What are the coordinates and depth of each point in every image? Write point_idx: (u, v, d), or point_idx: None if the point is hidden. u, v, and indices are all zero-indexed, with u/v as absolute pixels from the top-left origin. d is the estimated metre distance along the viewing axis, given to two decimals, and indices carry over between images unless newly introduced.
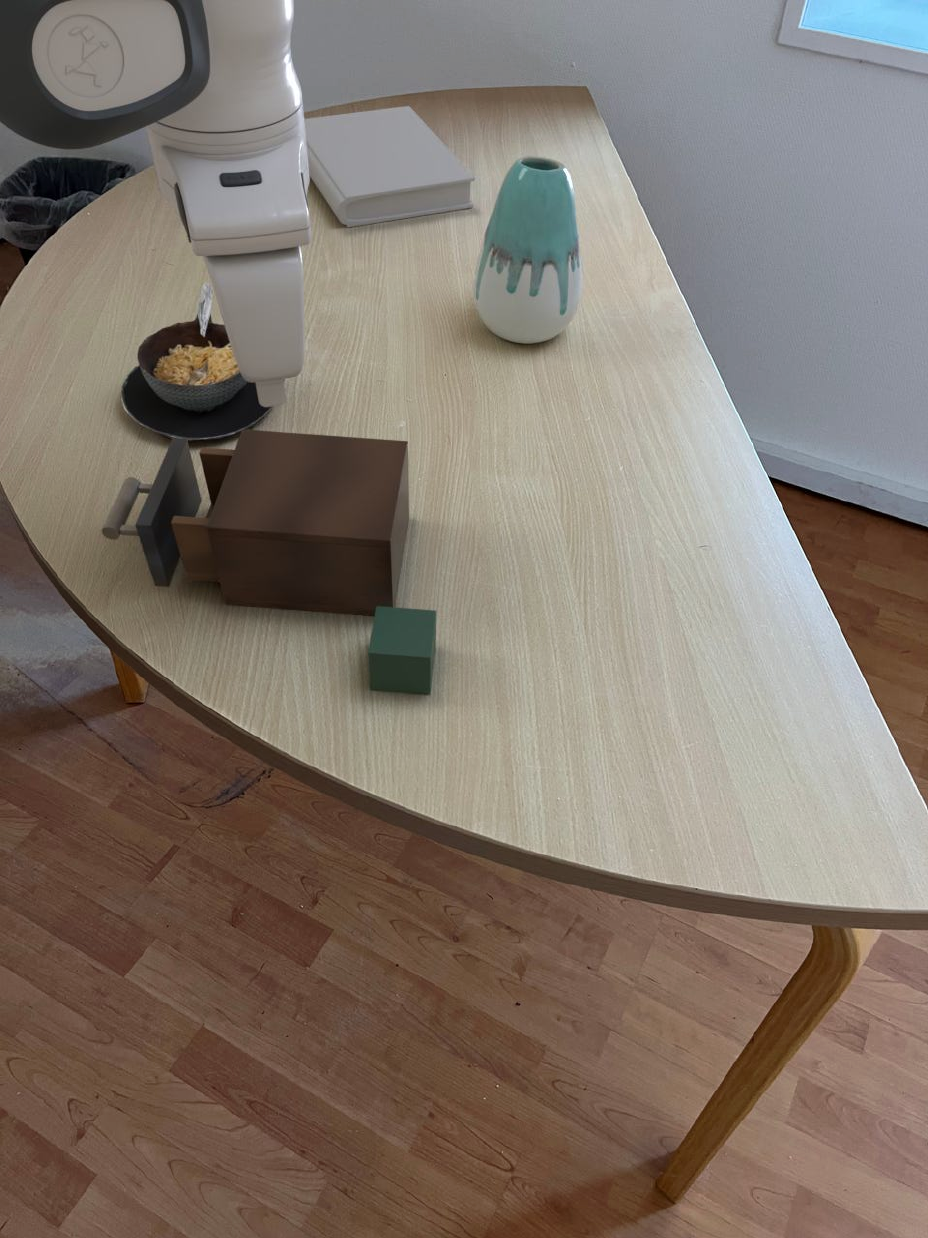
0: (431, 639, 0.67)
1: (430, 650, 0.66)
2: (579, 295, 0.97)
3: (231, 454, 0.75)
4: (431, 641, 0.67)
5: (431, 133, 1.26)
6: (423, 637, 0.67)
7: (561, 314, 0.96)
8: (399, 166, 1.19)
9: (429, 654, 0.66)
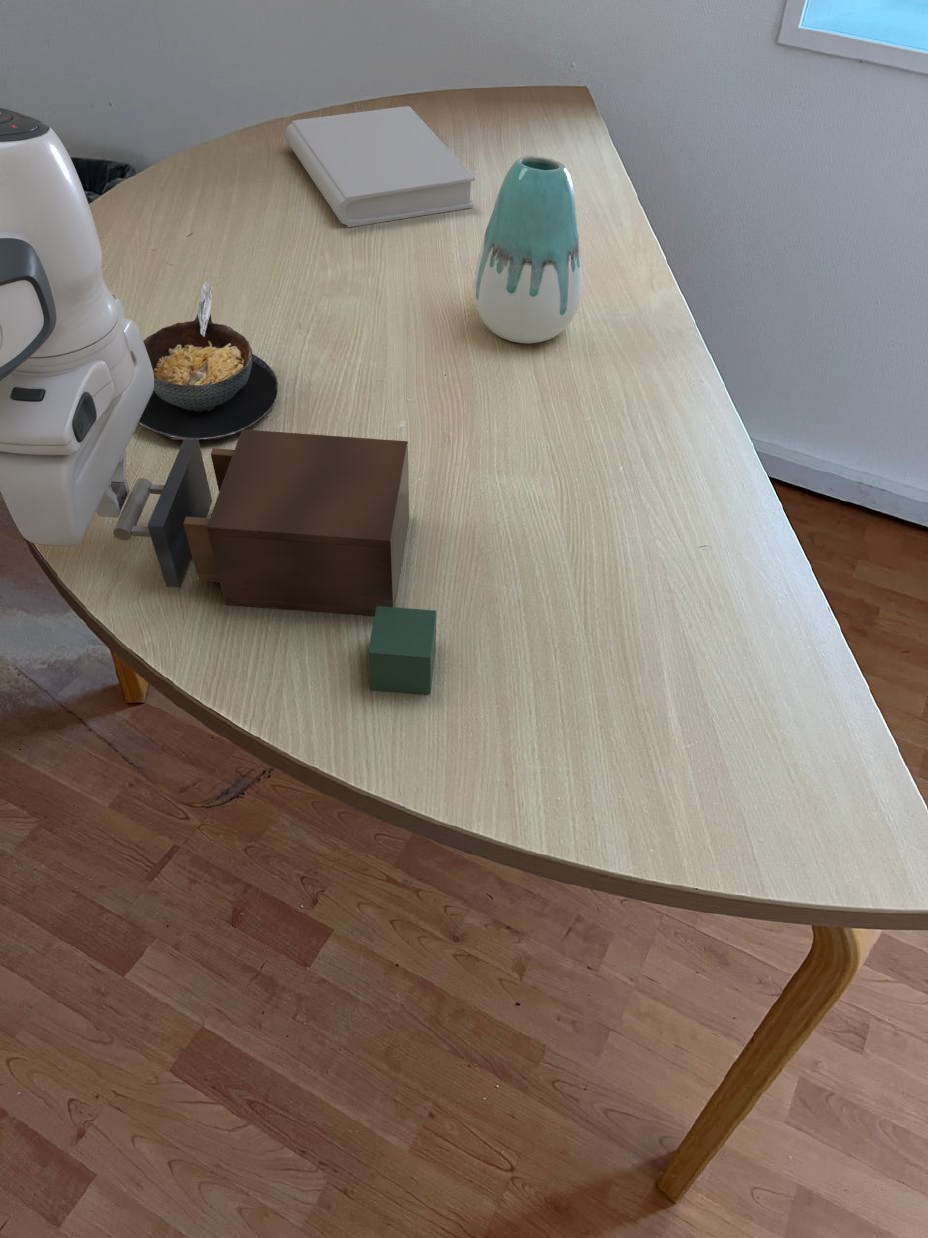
0: (431, 639, 0.67)
1: (430, 650, 0.66)
2: (579, 295, 0.97)
3: None
4: (431, 641, 0.67)
5: (431, 133, 1.26)
6: (423, 637, 0.67)
7: (561, 314, 0.96)
8: (399, 166, 1.19)
9: (429, 654, 0.66)
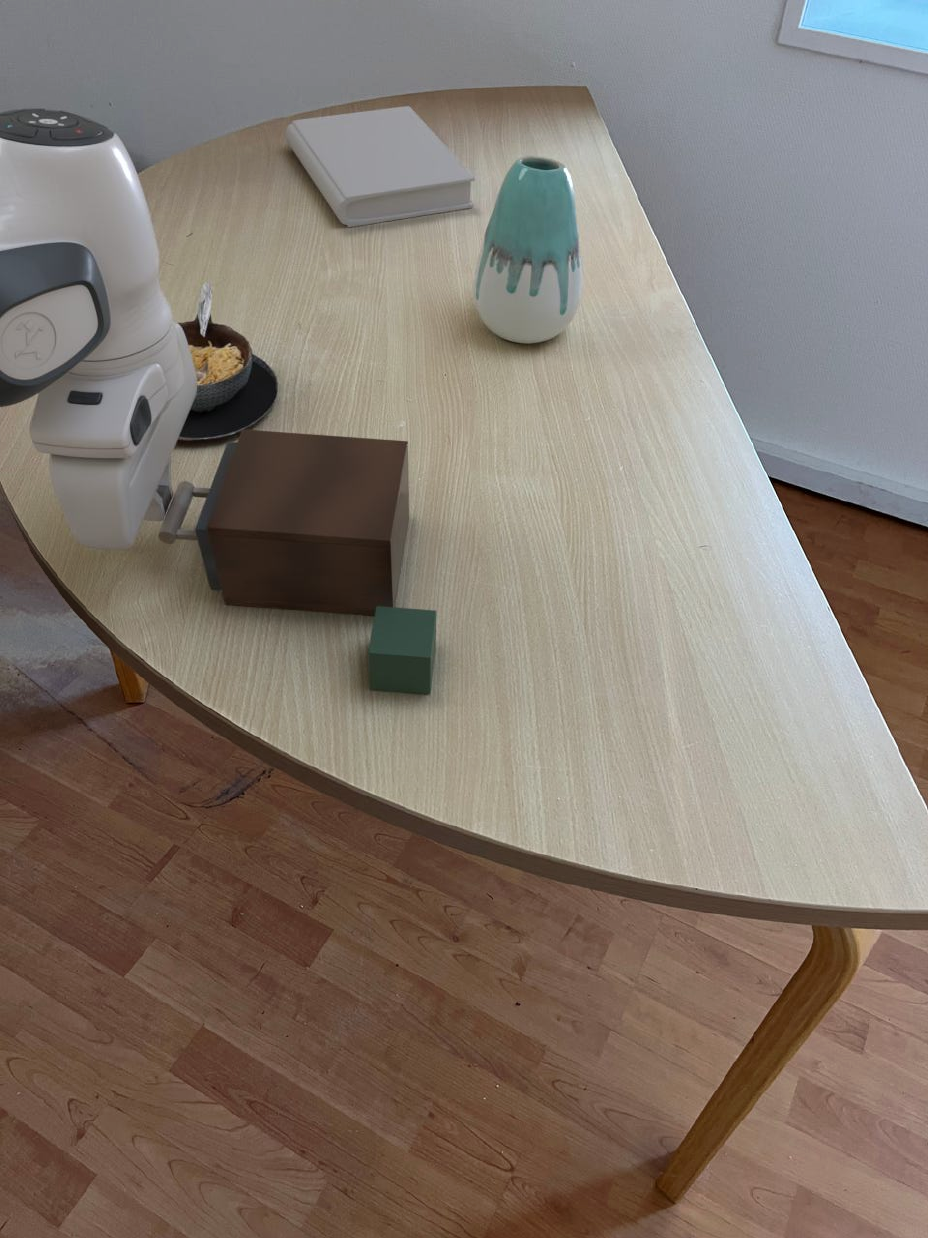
0: (431, 639, 0.67)
1: (430, 650, 0.66)
2: (579, 295, 0.97)
3: None
4: (431, 641, 0.67)
5: (431, 133, 1.26)
6: (423, 637, 0.67)
7: (561, 314, 0.96)
8: (399, 166, 1.19)
9: (429, 654, 0.66)
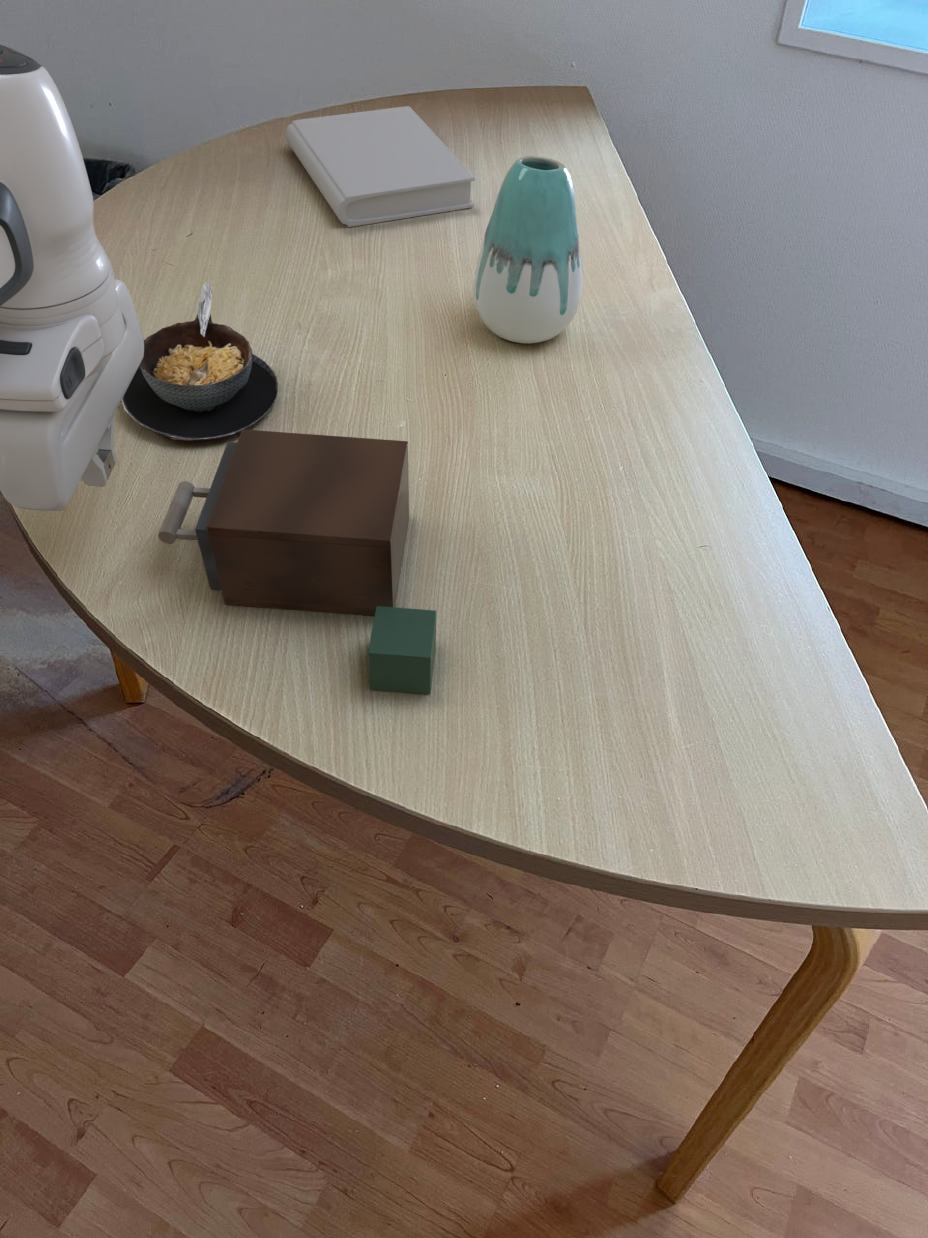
0: (431, 639, 0.67)
1: (430, 650, 0.66)
2: (579, 295, 0.97)
3: None
4: (431, 641, 0.67)
5: (431, 133, 1.26)
6: (423, 637, 0.67)
7: (561, 314, 0.96)
8: (399, 166, 1.19)
9: (429, 654, 0.66)
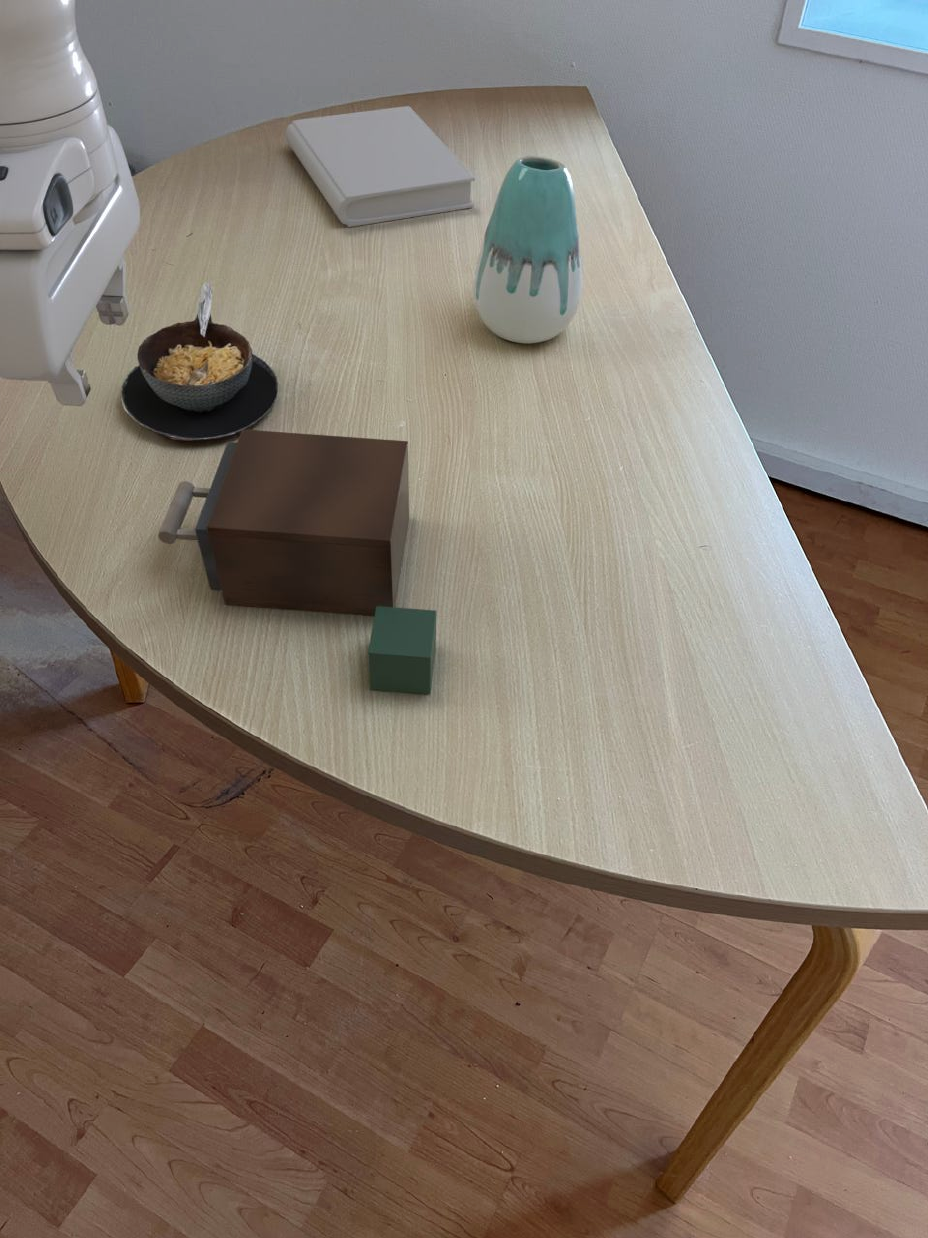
0: (431, 639, 0.67)
1: (430, 650, 0.66)
2: (579, 295, 0.97)
3: None
4: (431, 641, 0.67)
5: (431, 133, 1.26)
6: (423, 637, 0.67)
7: (561, 314, 0.96)
8: (399, 166, 1.19)
9: (429, 654, 0.66)
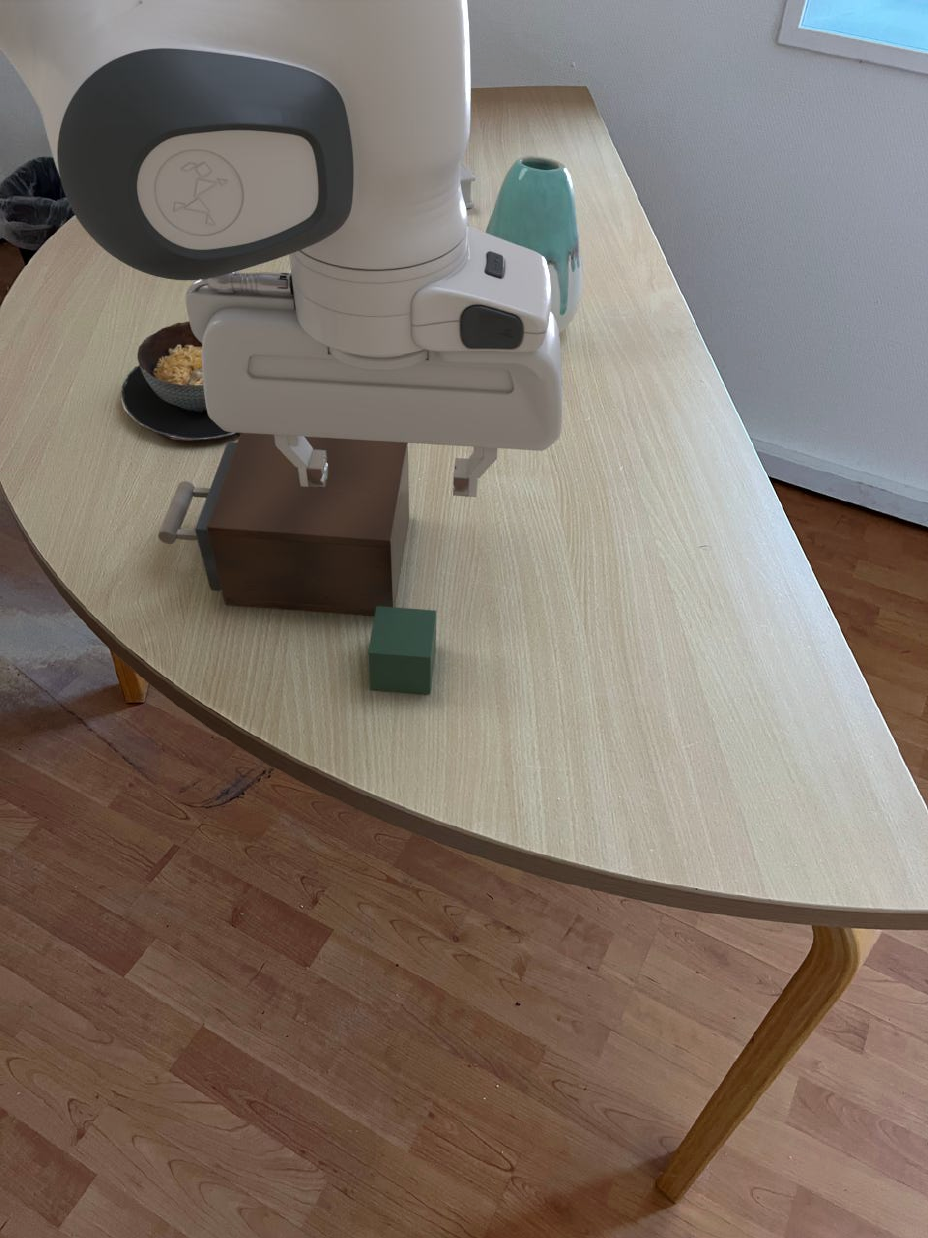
0: (431, 639, 0.67)
1: (430, 650, 0.66)
2: (579, 295, 0.97)
3: None
4: (431, 641, 0.67)
5: None
6: (423, 637, 0.67)
7: (561, 314, 0.96)
8: None
9: (429, 654, 0.66)
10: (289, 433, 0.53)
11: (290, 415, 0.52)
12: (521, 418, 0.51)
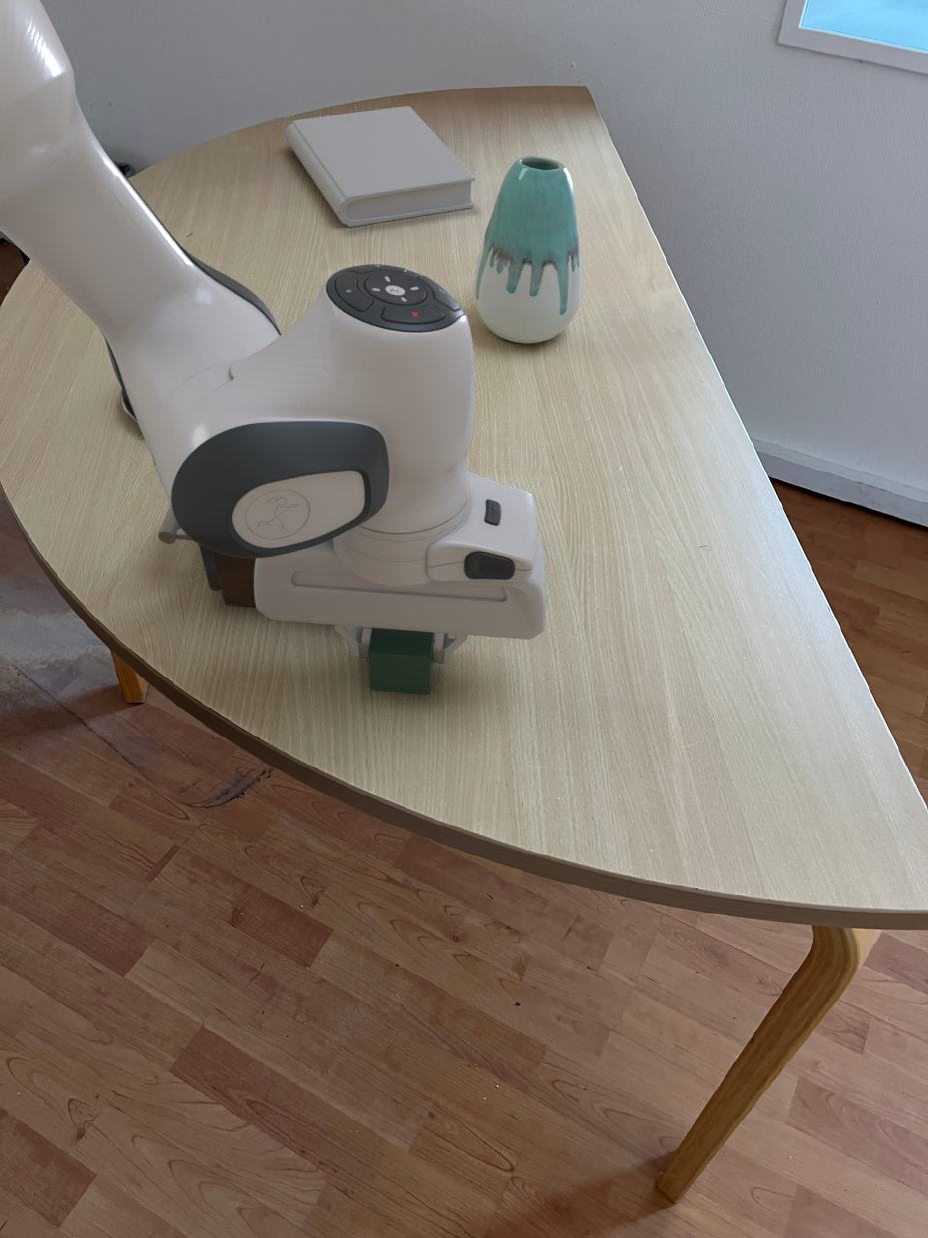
0: (431, 639, 0.67)
1: (430, 650, 0.66)
2: (579, 295, 0.97)
3: None
4: (431, 641, 0.67)
5: (431, 133, 1.26)
6: (423, 637, 0.67)
7: (561, 314, 0.96)
8: (399, 166, 1.19)
9: (429, 654, 0.66)
10: (322, 622, 0.65)
11: (324, 611, 0.63)
12: (512, 618, 0.63)
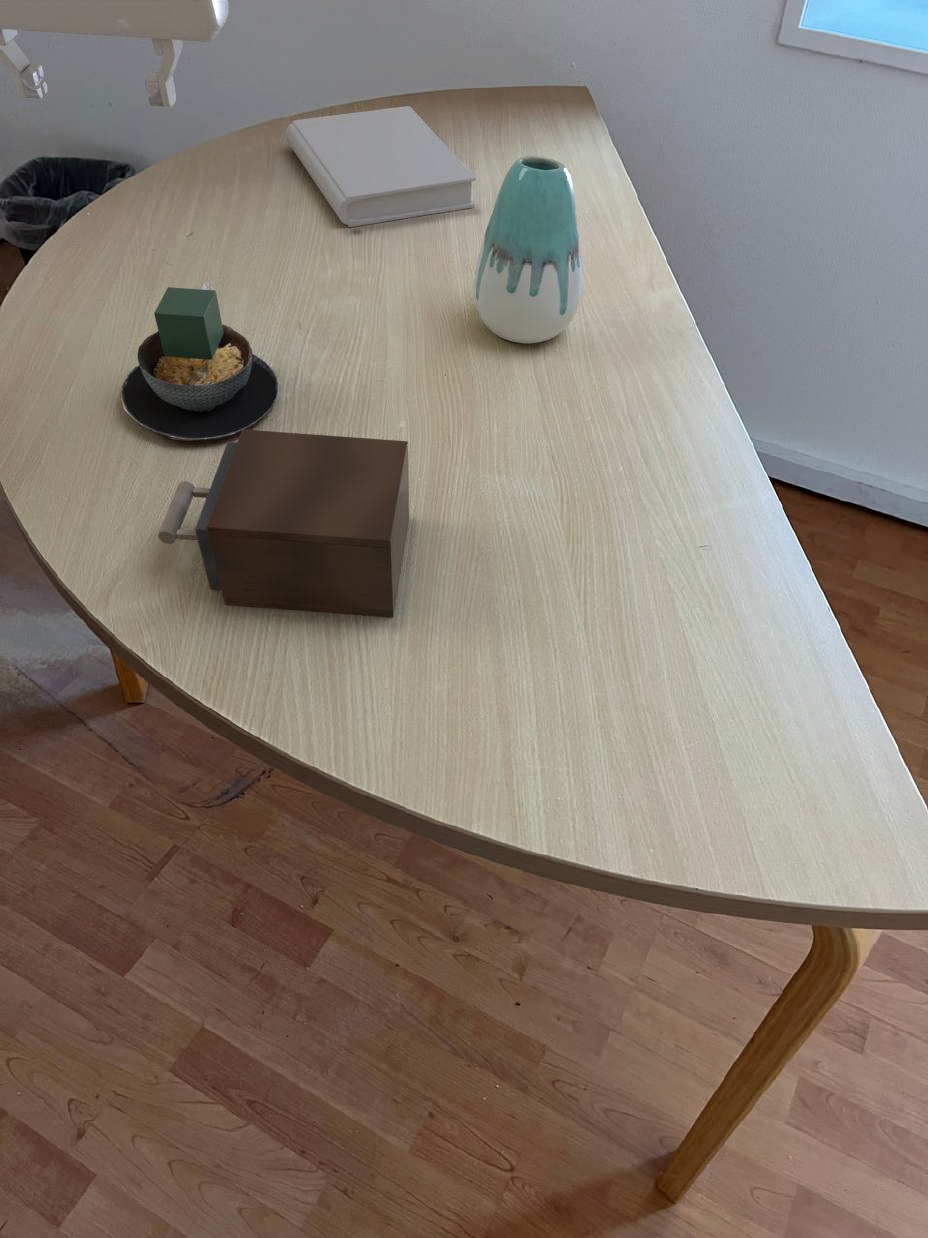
0: (207, 306, 0.84)
1: (204, 312, 0.83)
2: (579, 295, 0.97)
3: None
4: (206, 307, 0.84)
5: (432, 133, 1.26)
6: (201, 305, 0.84)
7: (561, 314, 0.96)
8: (400, 166, 1.19)
9: (203, 314, 0.83)
10: None
11: None
12: (178, 0, 0.60)
